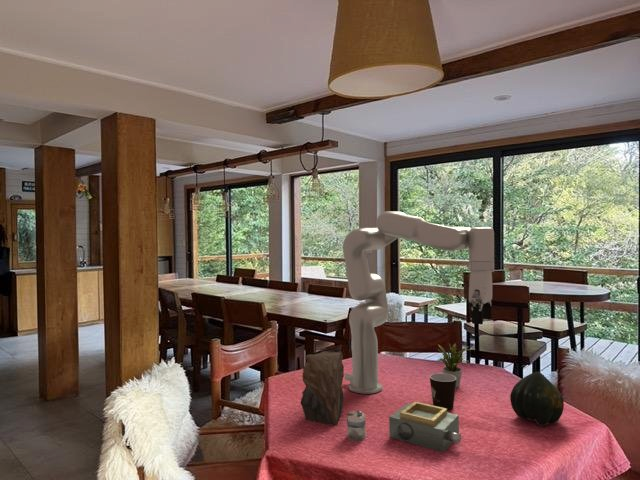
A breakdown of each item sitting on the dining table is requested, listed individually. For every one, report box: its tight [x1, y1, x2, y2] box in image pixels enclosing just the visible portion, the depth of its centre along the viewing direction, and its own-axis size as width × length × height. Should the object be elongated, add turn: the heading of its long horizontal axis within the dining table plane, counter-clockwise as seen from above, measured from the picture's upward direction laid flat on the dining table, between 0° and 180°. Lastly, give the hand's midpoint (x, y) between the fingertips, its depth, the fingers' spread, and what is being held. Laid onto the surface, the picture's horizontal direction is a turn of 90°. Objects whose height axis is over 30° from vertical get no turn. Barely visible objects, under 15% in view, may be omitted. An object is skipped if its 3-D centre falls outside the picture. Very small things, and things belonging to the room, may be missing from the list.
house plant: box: [436, 342, 472, 389], centre depth 172 cm, size 14×14×16 cm
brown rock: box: [300, 350, 345, 426], centre depth 148 cm, size 13×13×20 cm
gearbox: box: [388, 401, 462, 453], centre depth 131 cm, size 19×13×8 cm, turn 54°
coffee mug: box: [429, 372, 456, 412], centre depth 154 cm, size 12×9×10 cm
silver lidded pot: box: [346, 410, 367, 442], centre depth 132 cm, size 5×5×8 cm
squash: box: [509, 371, 565, 427], centre depth 142 cm, size 14×15×15 cm
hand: (482, 321), depth 144 cm, fingers open, 9 cm apart
